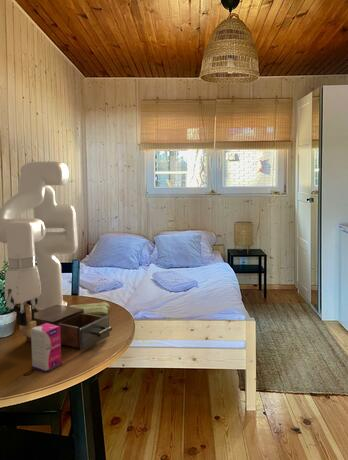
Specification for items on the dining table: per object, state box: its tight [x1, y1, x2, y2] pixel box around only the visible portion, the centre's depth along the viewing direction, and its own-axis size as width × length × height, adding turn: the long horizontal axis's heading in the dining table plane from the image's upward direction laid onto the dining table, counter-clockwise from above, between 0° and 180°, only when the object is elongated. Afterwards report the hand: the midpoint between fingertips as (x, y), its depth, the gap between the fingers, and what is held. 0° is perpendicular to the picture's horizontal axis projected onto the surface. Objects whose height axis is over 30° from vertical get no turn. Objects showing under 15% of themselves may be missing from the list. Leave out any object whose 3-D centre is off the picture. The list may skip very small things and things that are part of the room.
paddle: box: [19, 303, 37, 338], centre depth 125 cm, size 5×2×10 cm, turn 61°
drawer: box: [55, 313, 113, 351], centre depth 133 cm, size 15×13×7 cm
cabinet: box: [25, 305, 84, 343], centre depth 140 cm, size 12×14×8 cm
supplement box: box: [30, 323, 62, 373], centre depth 117 cm, size 6×6×12 cm
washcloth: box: [68, 301, 111, 317], centre depth 162 cm, size 13×18×3 cm
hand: (25, 323), depth 126 cm, fingers closed on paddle, 2 cm apart
